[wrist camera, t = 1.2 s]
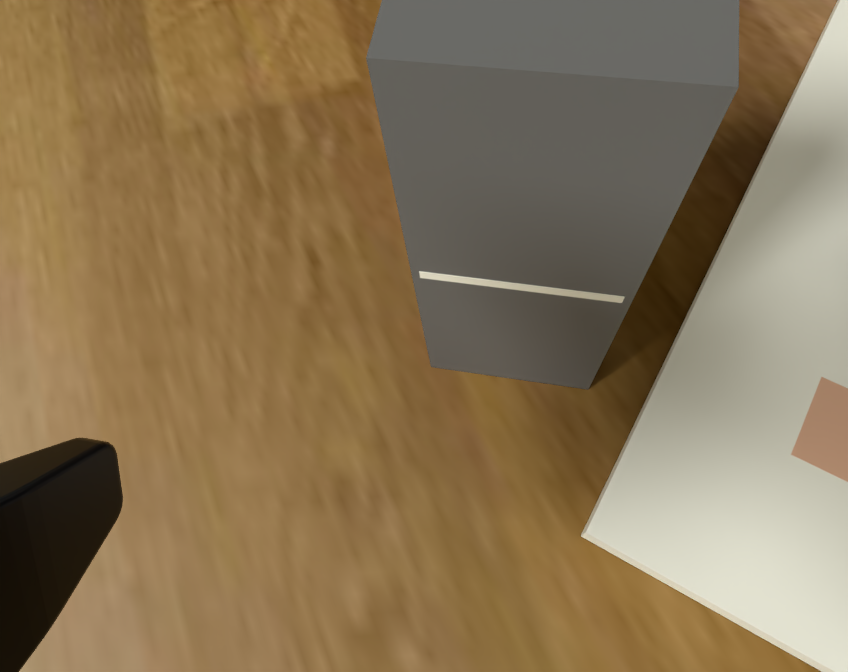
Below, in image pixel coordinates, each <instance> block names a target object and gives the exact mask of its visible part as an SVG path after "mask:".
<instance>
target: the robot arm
mask: <svg viewBox="0 0 848 672" xmlns="http://www.w3.org/2000/svg"><path fill="white" fill-rule="evenodd" d="M122 502H123V495H122V488H121V481H120V473H119V466H118V459H117V453H116V450H115V448H114V447H113V445H111V444H110V443H108V442H105V441H99V440H93V439H88V438H75V439H72V440H69V441H66V442H63V443H60V444H57V445H54V446H51V447H48V448H45V449H42V450H39V451H36V452H33V453H30V454H27V455H24V456H21V457H18V458H15V459H12V460H9V461H6V462H3V463H0V672H19V671H20V669H21V668H22V667H23V665H24V664H25V663H26V661H27V660H28V659H29V657H30V656H31V655H32V653H33V652H34V651H35V649H36V648H37V646H38V645H39V644H40V642H41V641H42V639H43V638H44V637H45V635H46V634H47V632H48V631H49V629H50V628H51V626H52V625H53V623H54V622H55V620H56V619H57V617H58V616H59V614H60V613H61V611H62V609H63V608H64V606H65V604H66V603H67V601H68V600H69V598H70V596H71V595H72V593H73V591H74V590H75V588H76V586H77V585H78V583H79V581H80V580H81V578H82V576H83V575H84V573H85V572H86V570H87V568H88V567H89V565H90V563H91V562H92V560H93V558H94V557H95V555H96V553H97V552H98V550H99V548H100V547H101V545H102V543H103V542H104V540H105V539H106V537H107V535H108V534H109V532H110V530H111V529H112V527H113V525H114V524H115V522H116V520H117V518H118V516H119V514H120V511H121V508H122Z"/></svg>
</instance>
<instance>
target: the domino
mask: <svg viewBox="0 0 848 672" xmlns="http://www.w3.org/2000/svg"><path fill="white" fill-rule="evenodd" d="M366 59H367V64H368V68H369V73H370V78H371V83H372V87H373V92H374V97H375V102H376V107H377V111H378V116H379V121H380V126H381V130H382V135H383V140H384V145H385V149H386V154H387V159H388V164H389V169H390V173H391V178H392V183H393V188H394V192H395V197H396V202H397V207H398V211H399V216H400V221H401V226H402V230H403V235H404V240H405V245H406V250H407V254H408V259H409V264H410V269H411V273H412V278H413V283H414V288H415V292H416V297H417V302H418V307H419V312H420V316H421V321H422V326H423V331H424V335H425V340H426V345H427V350H428V354H429V359H430V364H431V367H435V368H442V369H449V370H456V371H463V372H470V373H477V374H484V375H491V376H498V377H505V378H512V379H519V380H525V381H532V382H539V383H546V384H553V385H560V386H567V387H574V388H581V389H589V387H590V385H591V383H592V381H593V379H594V377H595V375H596V373H597V371H598V369H599V367H600V365H601V363H602V361H603V359H604V357H605V355H606V353H607V351H608V349H609V347H610V345H611V343H612V341H613V339H614V337H615V335H616V333H617V331H618V329H619V327H620V325H621V323H622V321H623V319H624V317H625V315H626V313H627V311H628V309H629V307H630V305H631V303H632V301H633V299H634V297H635V295H636V293H637V291H638V289H639V287H640V285H641V283H642V281H643V279H644V276H645V274H646V272H647V270H648V268H649V266H650V264H651V262H652V260H653V258H654V256H655V254H656V252H657V250H658V248H659V246H660V244H661V242H662V240H663V238H664V236H665V234H666V232H667V230H668V228H669V226H670V224H671V222H672V220H673V218H674V216H675V214H676V212H677V210H678V208H679V206H680V204H681V202H682V200H683V198H684V196H685V194H686V192H687V190H688V188H689V186H690V184H691V182H692V180H693V178H694V176H695V174H696V172H697V170H698V168H699V166H700V164H701V162H702V160H703V158H704V156H705V154H706V152H707V150H708V148H709V146H710V144H711V142H712V140H713V138H714V135H715V133H716V131H717V129H718V127H719V125H720V123H721V121H722V119H723V117H724V115H725V113H726V111H727V109H728V107H729V105H730V103H731V101H732V99H733V97H734V95H735V93H736V91H737V89H738V87H739V0H382V3H381V6H380V10H379V13H378V17H377V21H376V24H375V28H374V32H373V35H372V39H371V43H370V46H369V50H368V54H367V57H366Z"/></svg>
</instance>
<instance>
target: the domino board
mask: <svg viewBox="0 0 848 672" xmlns="http://www.w3.org/2000/svg"><path fill="white" fill-rule="evenodd" d="M581 537H583V538H585V539H587V540H588V541H590V542H592V543H594V544H596V545H597V546H599V547H601V548H603V549H605V550H606V551H608V552H610V553H612V554H613V555H615V556H617V557H619V558H621V559H622V560H624V561H626V562H628V563H629V564H631V565H633V566H635V567H637V568H638V569H640V570H642V571H644V572H645V573H647V574H649V575H651V576H653V577H654V578H656V579H658V580H660V581H662V582H663V583H665V584H667V585H669V586H670V587H672V588H674V589H676V590H678V591H679V592H681V593H683V594H685V595H686V596H688V597H690V598H692V599H694V600H695V601H697V602H699V603H701V604H702V605H704V606H706V607H708V608H710V609H711V610H713V611H715V612H717V613H718V614H720V615H722V616H724V617H726V618H727V619H729V620H731V621H733V622H735V623H736V624H738V625H740V626H742V627H743V628H745V629H747V630H749V631H751V632H752V633H754V634H756V635H758V636H759V637H761V638H763V639H765V640H767V641H768V642H770V643H772V644H774V645H775V646H777V647H779V648H781V649H783V650H784V651H786V652H788V653H790V654H792V655H793V656H795V657H797V658H799V659H800V660H802V661H804V662H806V663H808V664H809V665H811V666H813V667H815V668H816V669H818V670H820V671H822V672H848V0H838V1H837V3H836V5H835V7H834V9H833V11H832V13H831V15H830V17H829V19H828V22H827V24H826V26H825V28H824V30H823V32H822V34H821V36H820V38H819V40H818V42H817V44H816V47H815V49H814V51H813V53H812V55H811V57H810V59H809V61H808V63H807V65H806V67H805V69H804V72H803V74H802V76H801V78H800V80H799V82H798V84H797V86H796V88H795V90H794V92H793V94H792V97H791V99H790V101H789V103H788V105H787V107H786V109H785V111H784V113H783V115H782V117H781V119H780V122H779V124H778V126H777V128H776V130H775V132H774V134H773V136H772V138H771V140H770V142H769V144H768V147H767V149H766V151H765V153H764V155H763V157H762V159H761V161H760V163H759V165H758V167H757V169H756V172H755V174H754V176H753V178H752V180H751V182H750V184H749V186H748V188H747V190H746V192H745V194H744V197H743V199H742V201H741V203H740V205H739V207H738V209H737V211H736V213H735V215H734V217H733V219H732V222H731V224H730V226H729V228H728V230H727V232H726V234H725V236H724V238H723V240H722V242H721V244H720V247H719V249H718V251H717V253H716V255H715V257H714V259H713V261H712V263H711V265H710V267H709V269H708V272H707V274H706V276H705V278H704V280H703V282H702V284H701V286H700V288H699V290H698V292H697V294H696V297H695V299H694V301H693V303H692V305H691V307H690V309H689V311H688V313H687V315H686V317H685V319H684V322H683V324H682V326H681V328H680V330H679V332H678V334H677V336H676V338H675V340H674V342H673V344H672V347H671V349H670V351H669V353H668V355H667V357H666V359H665V361H664V363H663V365H662V367H661V369H660V372H659V374H658V376H657V378H656V380H655V382H654V384H653V386H652V388H651V390H650V392H649V394H648V397H647V399H646V401H645V403H644V405H643V407H642V409H641V411H640V413H639V415H638V417H637V419H636V422H635V424H634V426H633V428H632V430H631V432H630V434H629V436H628V438H627V440H626V442H625V444H624V447H623V449H622V451H621V453H620V455H619V457H618V459H617V461H616V463H615V465H614V467H613V469H612V472H611V474H610V476H609V478H608V480H607V482H606V484H605V486H604V488H603V490H602V492H601V494H600V497H599V499H598V501H597V503H596V505H595V507H594V509H593V511H592V513H591V515H590V517H589V519H588V522H587V524H586V526H585V528H584V530H583V532H582V534H581Z"/></svg>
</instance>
